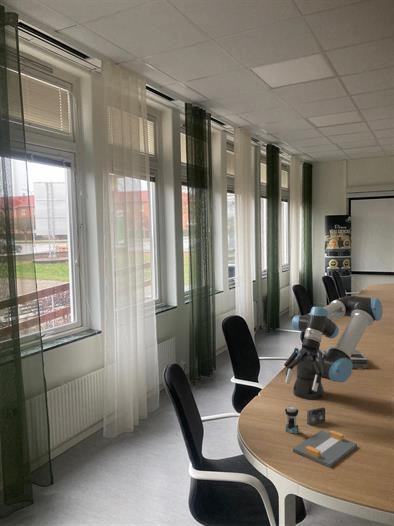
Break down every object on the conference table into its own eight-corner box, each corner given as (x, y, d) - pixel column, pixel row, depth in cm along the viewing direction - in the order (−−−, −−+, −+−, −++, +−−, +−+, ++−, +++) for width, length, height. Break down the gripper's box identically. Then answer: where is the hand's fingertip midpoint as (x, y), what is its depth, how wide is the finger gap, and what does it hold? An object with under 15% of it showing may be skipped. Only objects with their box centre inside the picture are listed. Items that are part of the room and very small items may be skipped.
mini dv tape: (323, 420, 176) (322, 407, 176) (325, 421, 175) (325, 408, 174) (307, 423, 173) (306, 410, 173) (309, 425, 172) (309, 411, 172)
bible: (320, 357, 268) (320, 343, 267) (364, 360, 260) (364, 345, 260) (321, 368, 245) (321, 352, 245) (369, 372, 238) (369, 355, 237)
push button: (303, 431, 167) (303, 407, 166) (299, 436, 162) (299, 412, 162) (287, 427, 170) (287, 404, 169) (283, 433, 165) (283, 409, 165)
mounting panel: (321, 433, 164) (321, 425, 164) (356, 446, 153) (357, 438, 153) (292, 451, 151) (292, 443, 151) (329, 467, 140) (329, 458, 140)
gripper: (284, 334, 189) (272, 378, 183) (333, 341, 171) (322, 391, 165) (292, 339, 194) (281, 383, 187) (341, 347, 175) (330, 396, 169)
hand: (300, 387), depth 176 cm, fingers open, 13 cm apart
